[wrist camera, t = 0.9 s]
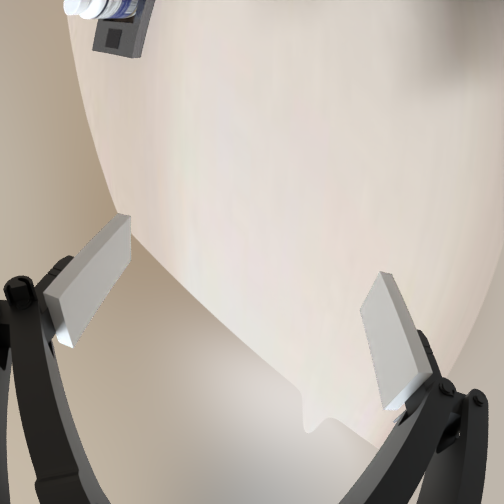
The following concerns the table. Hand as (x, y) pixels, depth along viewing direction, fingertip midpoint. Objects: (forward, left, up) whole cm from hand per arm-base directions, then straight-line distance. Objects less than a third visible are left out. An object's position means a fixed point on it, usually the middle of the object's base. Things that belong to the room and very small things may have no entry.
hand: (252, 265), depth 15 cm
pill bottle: (-11, -32, -19) cm, 39 cm away
